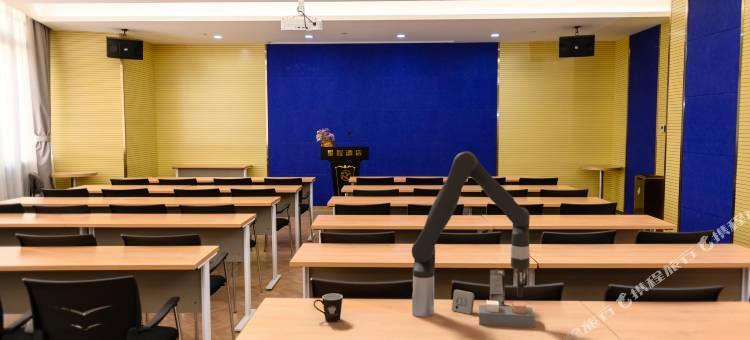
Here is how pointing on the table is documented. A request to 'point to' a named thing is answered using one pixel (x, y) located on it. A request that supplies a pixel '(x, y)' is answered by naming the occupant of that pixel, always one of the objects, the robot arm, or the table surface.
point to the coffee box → (497, 286)
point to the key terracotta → (519, 307)
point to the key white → (492, 306)
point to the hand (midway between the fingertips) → (520, 296)
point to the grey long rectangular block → (506, 317)
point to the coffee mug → (331, 307)
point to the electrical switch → (463, 301)
